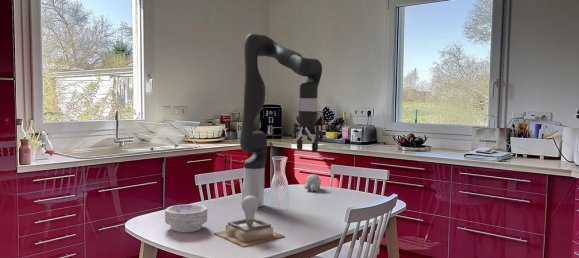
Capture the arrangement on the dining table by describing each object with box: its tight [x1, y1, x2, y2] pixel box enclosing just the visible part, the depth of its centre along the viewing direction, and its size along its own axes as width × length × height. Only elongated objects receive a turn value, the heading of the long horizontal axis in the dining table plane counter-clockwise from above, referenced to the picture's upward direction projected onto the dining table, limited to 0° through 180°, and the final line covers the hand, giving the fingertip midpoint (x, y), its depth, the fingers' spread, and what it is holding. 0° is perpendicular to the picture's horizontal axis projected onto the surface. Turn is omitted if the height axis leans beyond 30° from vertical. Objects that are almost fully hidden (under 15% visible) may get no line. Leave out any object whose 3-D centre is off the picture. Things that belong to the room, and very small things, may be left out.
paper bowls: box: [164, 203, 208, 233], centre depth 175 cm, size 15×15×8 cm
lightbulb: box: [241, 195, 259, 226], centre depth 168 cm, size 6×6×11 cm
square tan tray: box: [213, 217, 286, 248], centre depth 169 cm, size 18×18×4 cm
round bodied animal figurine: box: [304, 173, 322, 192], centre depth 247 cm, size 7×12×8 cm, turn 148°
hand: (307, 150), depth 187 cm, fingers open, 8 cm apart
